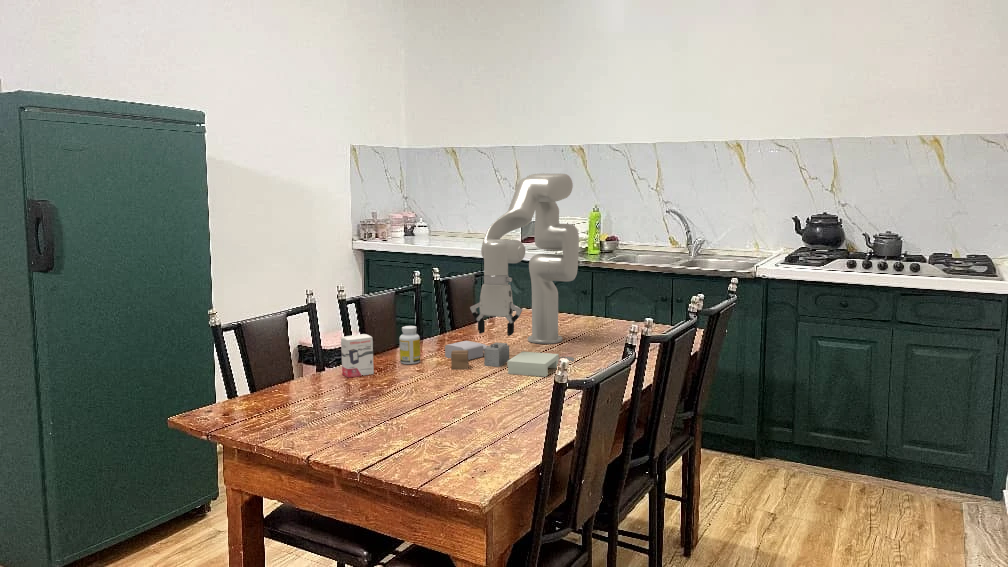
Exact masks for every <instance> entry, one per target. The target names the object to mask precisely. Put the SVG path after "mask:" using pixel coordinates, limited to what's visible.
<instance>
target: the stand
mask: <svg viewBox="0 0 1008 567" xmlns="http://www.w3.org/2000/svg"><path fill="white" fill-rule="evenodd" d="M559 354H560V353H551V352H535V351H524V350H523V351H521V352H520V353H518V354H516V355H515V356H513V357H512V358H509V360H508V361H507V363H506V365H507V374H509V375H522V376H532V377H542V378H543V377H545V378H546V377H547V376H548V375H549V374H548V372H549V370H548V369H549V368H550V369H557V364H558V365H559V358H560V357H559Z"/></svg>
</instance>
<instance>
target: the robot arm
mask: <svg viewBox="0 0 1008 567" xmlns="http://www.w3.org/2000/svg"><path fill="white" fill-rule="evenodd" d="M573 184H574V183H573V179H572V178H571V176H570V175H569V174H567V173H532V174H529V175H527V176H526V177H524V178H521V179H520V180H519V181H518V184H517V185H516V187H515V190H514V194H513V196H512V199H511V201H510V204H509V207H508V210H507V212H505V213H503V214H502V215H500V216H499V218H497V219H496V220H494V222H493V223H492V224H491V225H489V227H488V229H487V230H486V232H485V234H484V238H483V241H482V244H481V248H480V250H481V253H480V254H481V257H482V258H483V261H484V262H483V264H484V265H483V266H484V268H483V273H484V274H483V284H482V285H481V290H480V296H479V302H477V303H476V304H474V305H471V306H469V309H470V311H471V314H472V316H473V318H475V319H476V321H477V331H478V334H479V335H481V334H483V333H485V330H486V327H485V324H486V323H485V322H486V321H485V320H484V319H485V318H486V317H497V318H498V317H499V318H505V319H506V320H507V321H508V322H507V329H506V332H507V333H506V335H507V336H508V337H510V336H513V334H514V333H515V322H516V321H517V320H518V319H519V318H520V316H521V314H522V312H523V309H522V307H521V308H520V307H519V306H518V305H516V304H514V301H513V290H512V287H511V284H509V283H511V282H512V281H513V277H510V276H509V264H518V263H520V262H522V261H523V259H524V258H525V256H526V246H525V245H524V244H523V242H521V241H520V240H515V239H502V237H504V236H505V235H507V234H508V233H511V232H513V231H515V230H519V229H521V228H524V227H525V226H527V225H529V224H530V223H531V222H532V220H533V217H534V214H535V218H534V219H535V220H534V244H535V247H536V248H538V249H539V250H540V249H541V250H547V251H562V254H561V253H560V254H559V253H556V254H555V253H537V254H534V255H533V256H531V258H530V259H529V262H528V270H529V271H528V272H529V276H530V282H531V335H529V336H528V337H527V341H528V342H529V343H533V344H543V345H545V344H547V345H548V344H557V343H561V342H562V341H563V336H561V335H559V291H558V287H557V286H556V285H555V283H554V282H572V281H575V279H576V277H577V274H578V270H579V268H578V267H579V250H580V248H579V247H580V238H579V231H578V228H577V227H576V226H575V225H574V224H572V223H560V209H559V206H558V204H557V202H560V201H562V200H564V199H568V197H570V195H571V193H572V192H573V187H574V185H573ZM478 308H479V312H478V311H477V309H478ZM514 311H515V314H514ZM513 314H514V316H513Z"/></svg>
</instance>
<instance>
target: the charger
mask: <svg viewBox="0 0 1008 567" xmlns="http://www.w3.org/2000/svg"><path fill="white" fill-rule="evenodd" d="M488 346H489V344H488V345H487V344H485V343H481V342H476V341H470V340H463V341H458V342H454V343H448V344H446V345H445V346H444V357H445V358H446V357H447V358H446V359H449V358H451V353H452V351H456V350H468V361H472V360H475V359H477V358H478V359H480V358H483V357H484V350H485V349H486V347H488Z"/></svg>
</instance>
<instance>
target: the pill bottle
mask: <svg viewBox="0 0 1008 567" xmlns="http://www.w3.org/2000/svg"><path fill="white" fill-rule="evenodd" d="M401 331H402V334H401V335H400V336H399V338H398V340H399V361H400V363H401V364H404V365H415V364H419V363H420V362H421V338H420V337H421V336H420V335H419V334H418V333H417V326H415V325H405V326H402V327H401Z"/></svg>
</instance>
